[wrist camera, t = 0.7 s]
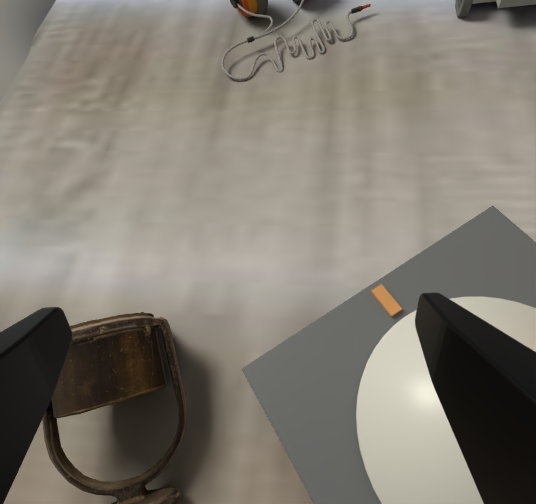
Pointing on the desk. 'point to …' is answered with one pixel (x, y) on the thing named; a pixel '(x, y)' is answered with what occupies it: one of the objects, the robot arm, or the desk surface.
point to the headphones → (255, 4)
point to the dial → (421, 412)
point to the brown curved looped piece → (115, 393)
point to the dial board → (363, 343)
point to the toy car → (464, 3)
